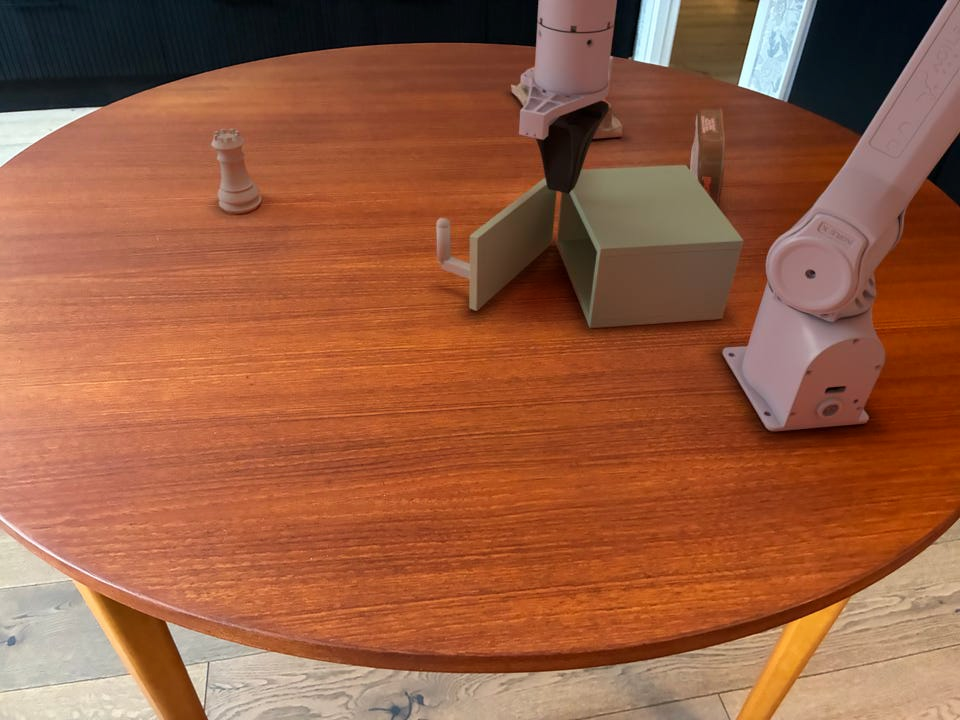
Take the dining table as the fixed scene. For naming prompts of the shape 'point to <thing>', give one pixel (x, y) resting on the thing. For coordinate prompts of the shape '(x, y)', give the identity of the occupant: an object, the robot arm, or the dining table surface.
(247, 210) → the rook chess piece
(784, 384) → the robot arm
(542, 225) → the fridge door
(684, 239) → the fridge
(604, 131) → the packaged product
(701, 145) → the tin
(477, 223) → the dining table surface
